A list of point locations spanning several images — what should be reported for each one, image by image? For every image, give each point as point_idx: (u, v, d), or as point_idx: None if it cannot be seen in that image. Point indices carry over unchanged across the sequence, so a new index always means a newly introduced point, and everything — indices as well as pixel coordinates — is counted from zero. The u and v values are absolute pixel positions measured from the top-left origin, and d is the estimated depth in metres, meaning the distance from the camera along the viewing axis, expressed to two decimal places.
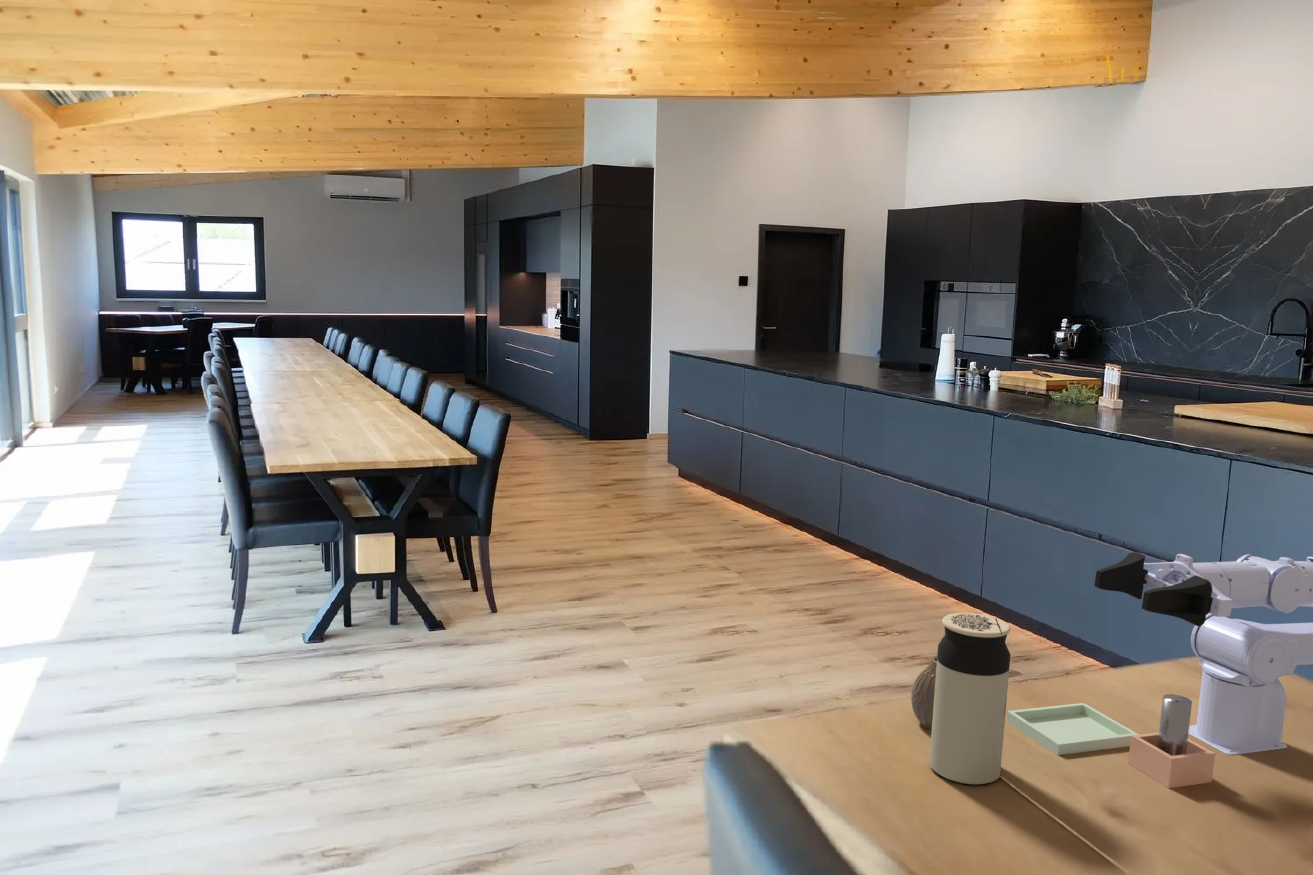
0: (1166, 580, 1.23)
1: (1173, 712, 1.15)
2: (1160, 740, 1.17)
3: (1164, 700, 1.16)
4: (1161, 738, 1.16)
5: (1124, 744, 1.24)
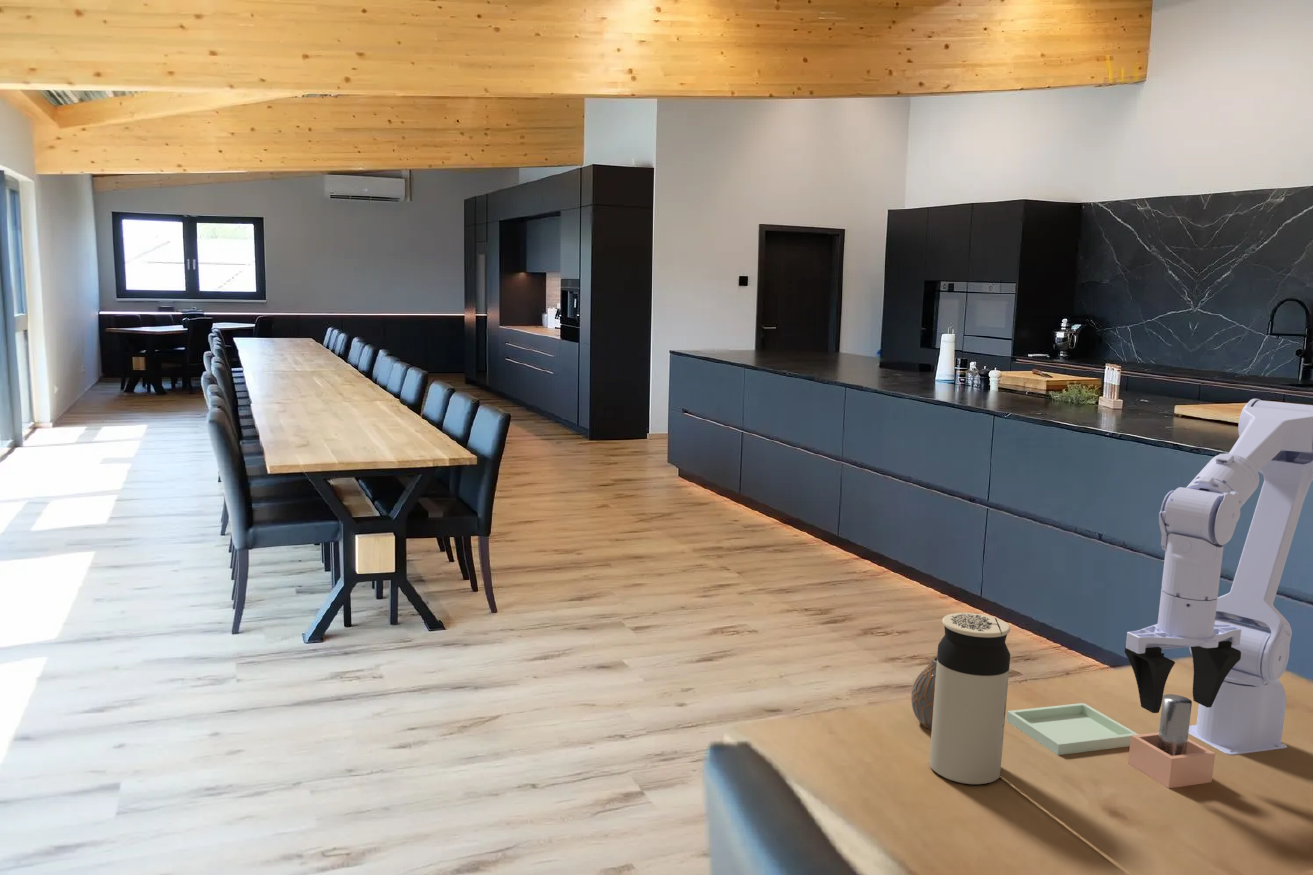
0: None
1: (1173, 712, 1.15)
2: (1160, 740, 1.17)
3: (1164, 700, 1.16)
4: (1161, 738, 1.16)
5: (1124, 744, 1.24)
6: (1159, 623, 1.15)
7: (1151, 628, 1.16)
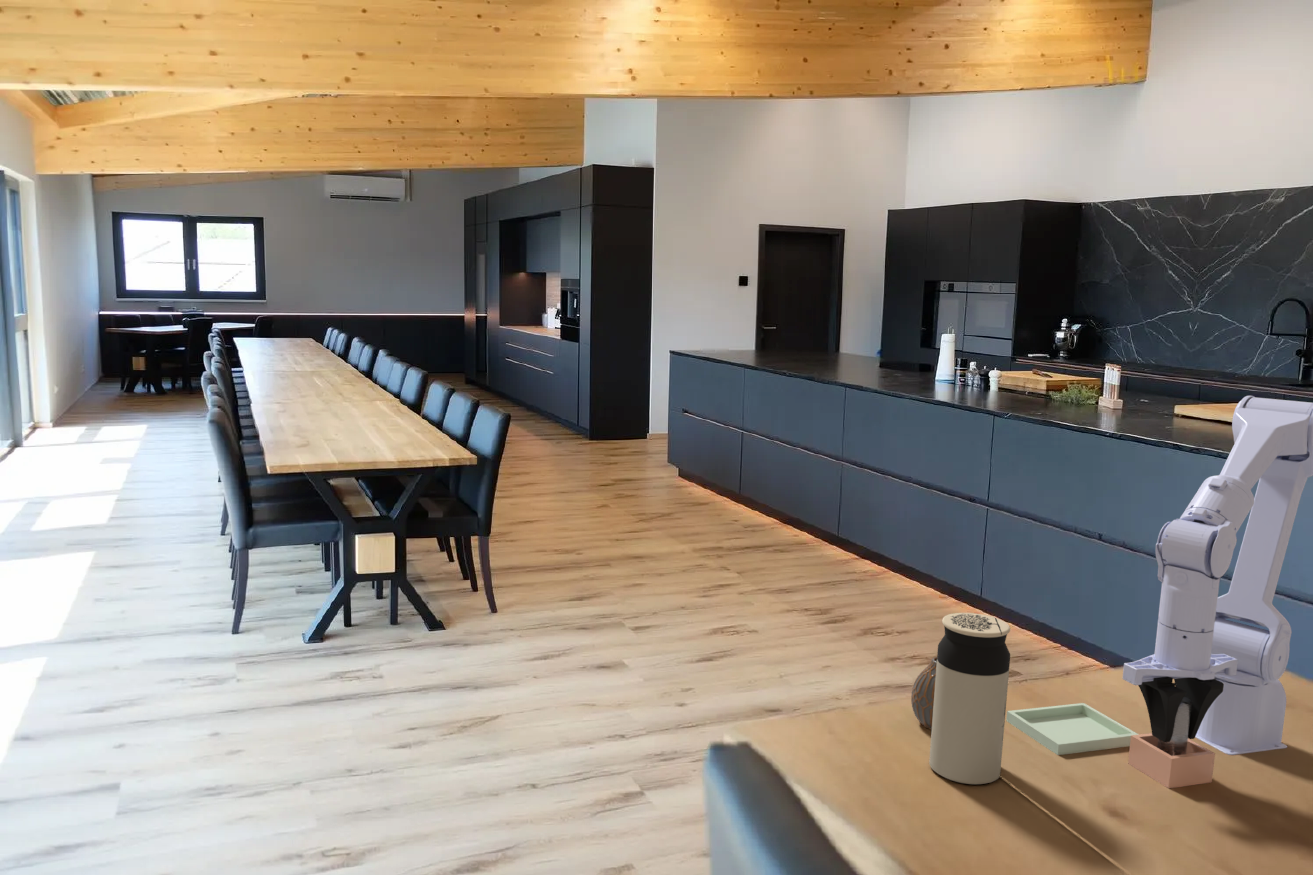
0: None
1: None
2: (1160, 740, 1.17)
3: None
4: None
5: (1124, 744, 1.24)
6: (1156, 654, 1.16)
7: (1148, 659, 1.16)
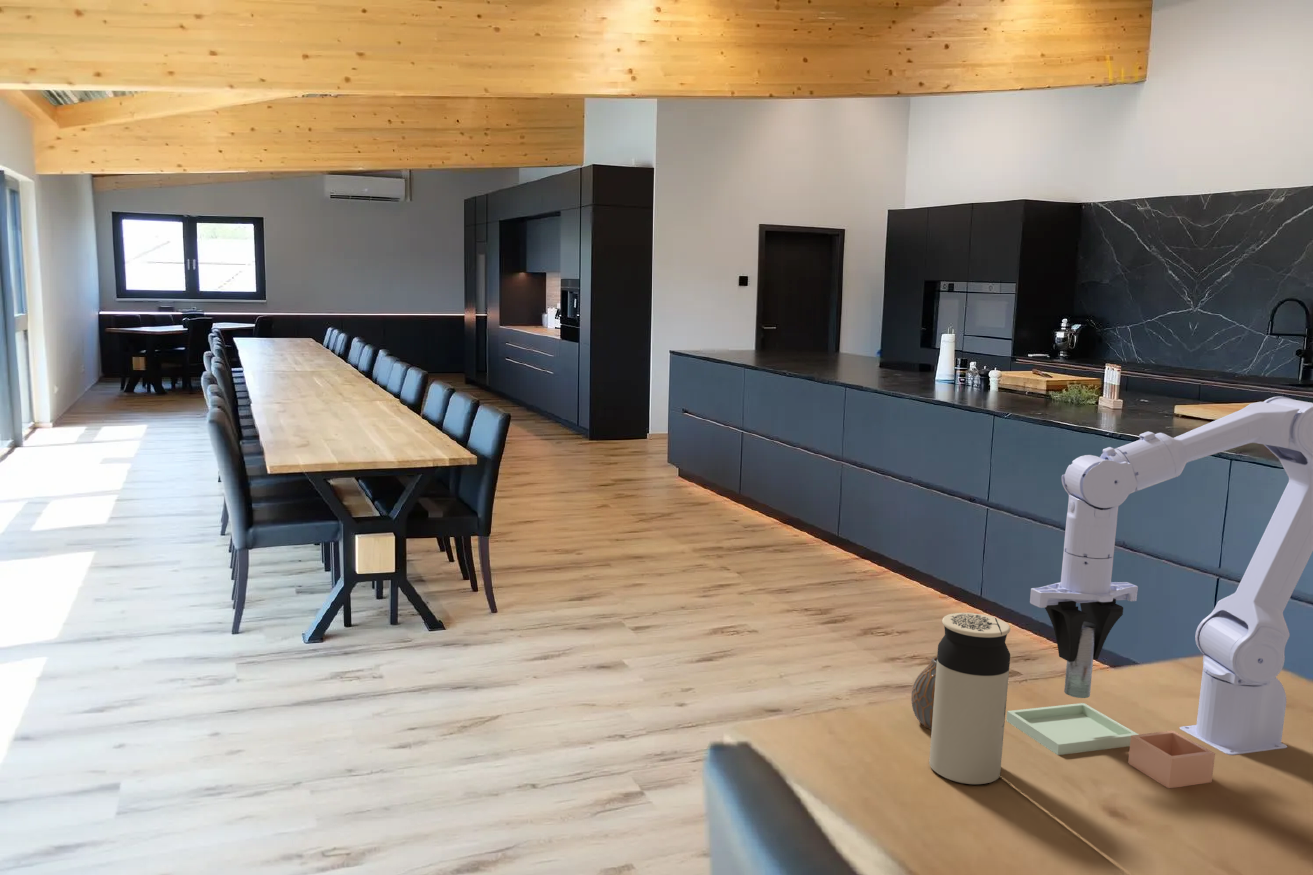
0: None
1: (1080, 636, 1.24)
2: (1068, 664, 1.25)
3: None
4: None
5: (1124, 744, 1.24)
6: (1061, 580, 1.25)
7: (1055, 585, 1.26)
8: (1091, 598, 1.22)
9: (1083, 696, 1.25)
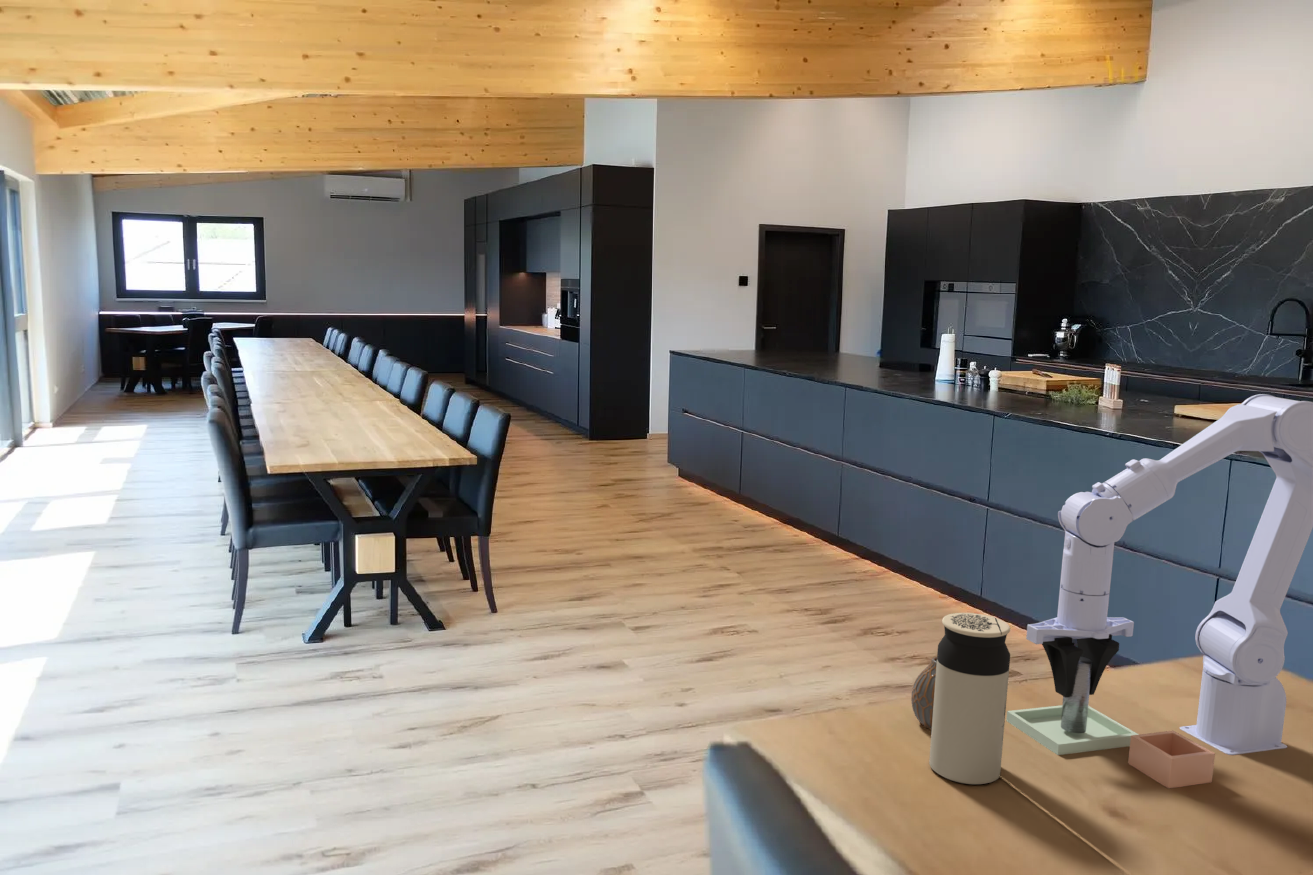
0: None
1: (1076, 671, 1.25)
2: (1064, 699, 1.26)
3: None
4: None
5: (1124, 744, 1.24)
6: (1058, 616, 1.26)
7: (1051, 621, 1.26)
8: (1087, 635, 1.22)
9: (1079, 731, 1.25)
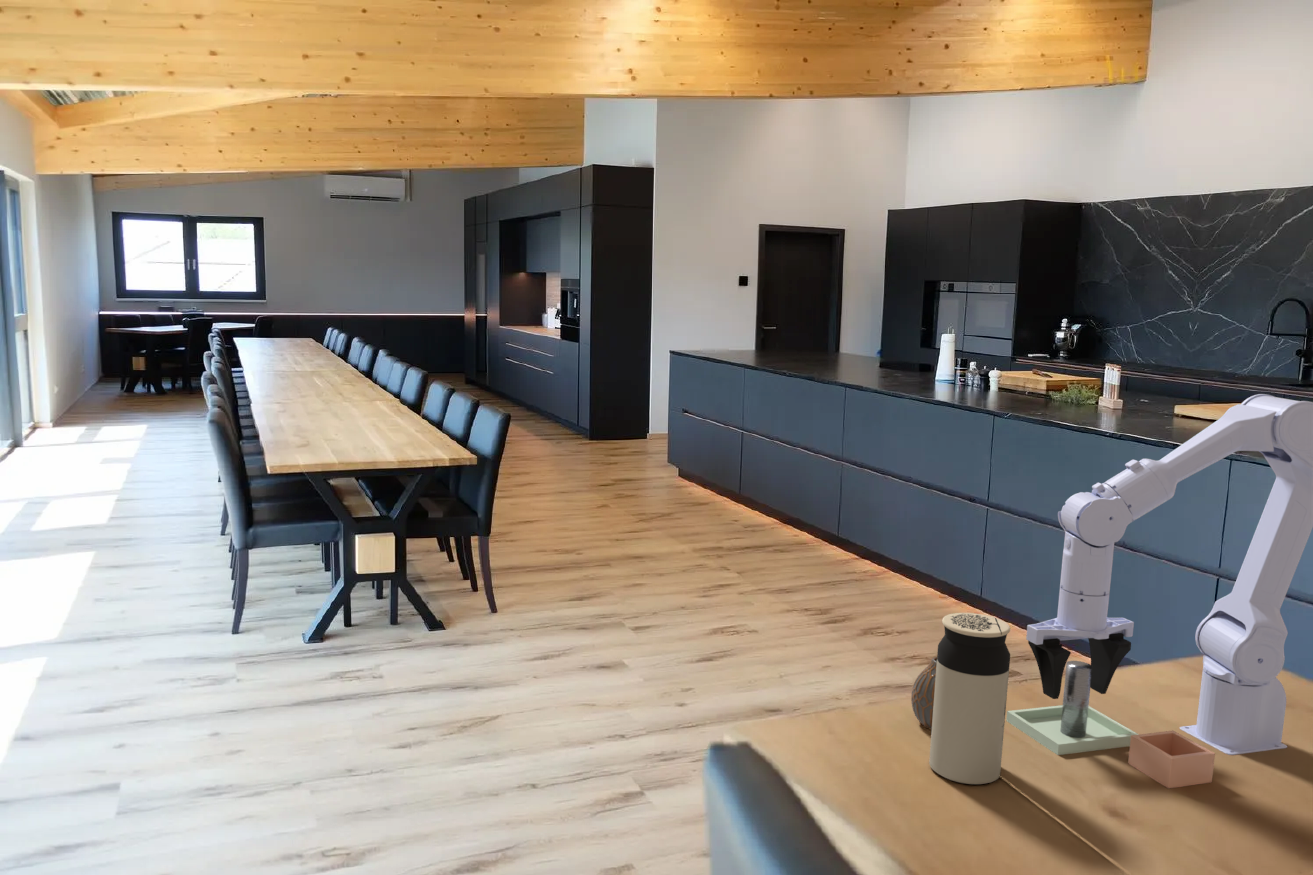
0: None
1: (1076, 676, 1.25)
2: (1064, 703, 1.26)
3: (1068, 666, 1.26)
4: (1065, 701, 1.26)
5: (1124, 744, 1.24)
6: (1058, 617, 1.26)
7: (1051, 621, 1.26)
8: (1087, 635, 1.22)
9: (1079, 736, 1.25)
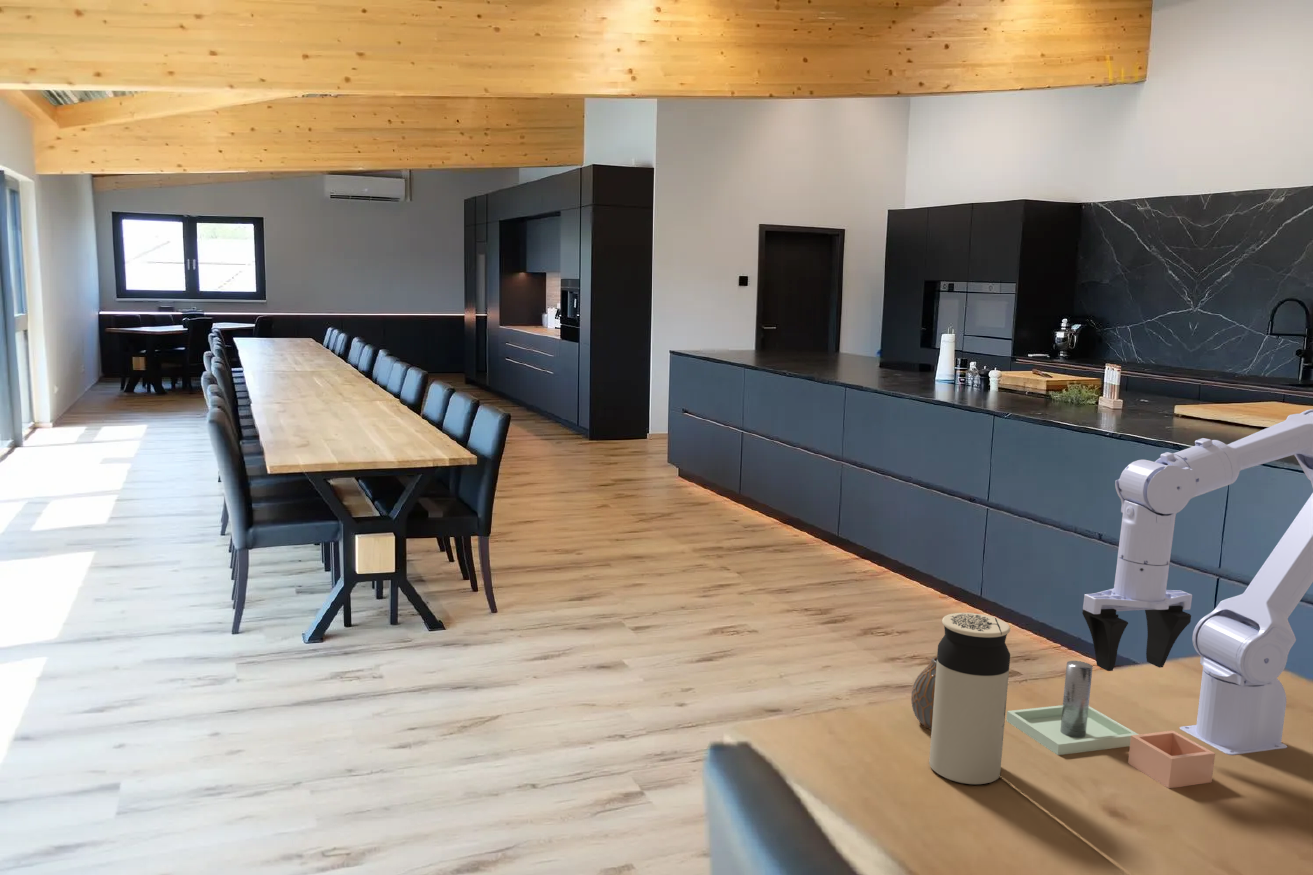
0: None
1: (1076, 676, 1.25)
2: (1064, 703, 1.26)
3: (1068, 666, 1.26)
4: (1065, 701, 1.26)
5: (1124, 744, 1.24)
6: (1115, 587, 1.23)
7: (1108, 592, 1.23)
8: (1146, 605, 1.19)
9: (1079, 736, 1.25)
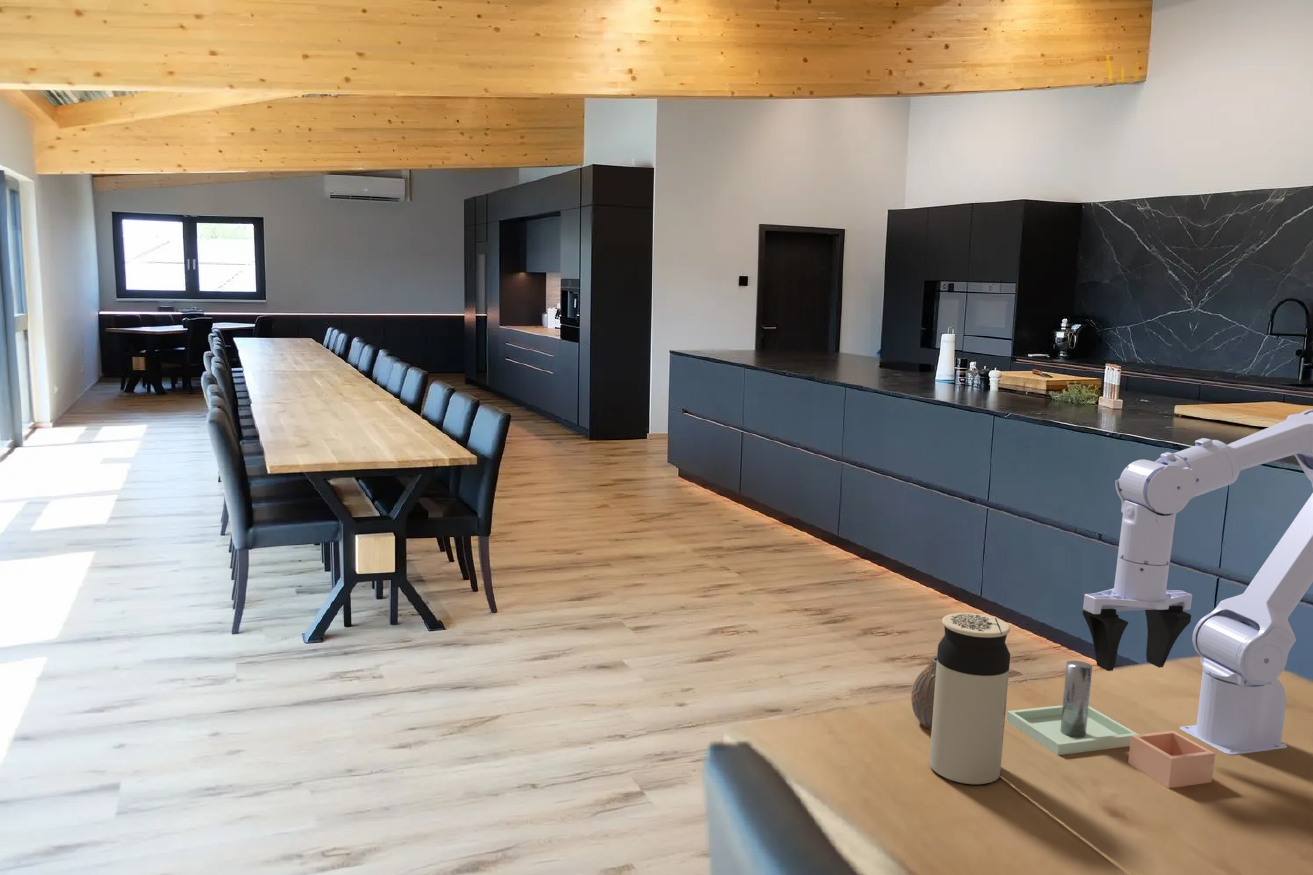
0: None
1: (1076, 676, 1.25)
2: (1064, 703, 1.26)
3: (1067, 666, 1.26)
4: (1065, 701, 1.26)
5: (1124, 744, 1.24)
6: (1115, 587, 1.23)
7: (1108, 592, 1.23)
8: (1146, 605, 1.19)
9: (1079, 736, 1.25)
